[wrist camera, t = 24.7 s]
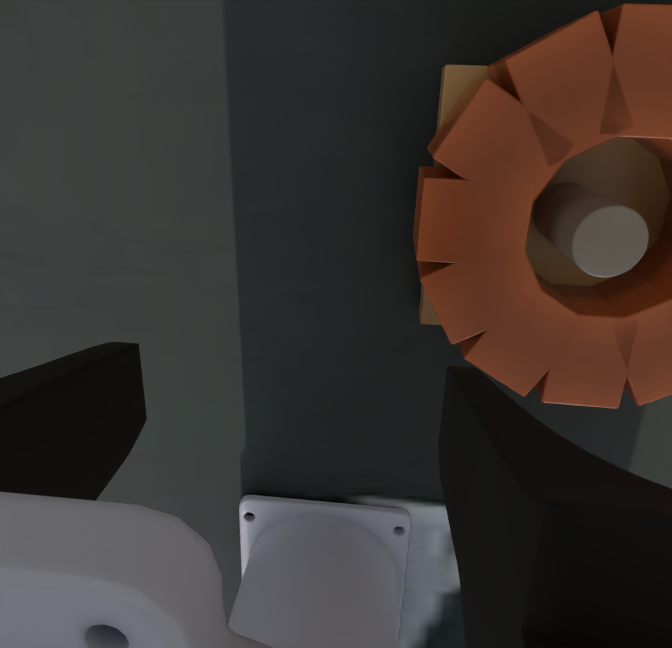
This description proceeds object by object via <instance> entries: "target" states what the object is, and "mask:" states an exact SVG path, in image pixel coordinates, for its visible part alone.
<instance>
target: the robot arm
mask: <svg viewBox="0 0 672 648" xmlns="http://www.w3.org/2000/svg"><path fill="white" fill-rule="evenodd" d="M146 420H147V417H146V408H145V398H144V389H143V380H142V370H141V361H140V352H139V344H137V343H123V342H110V343H105V344H101V345H97V346H94V347H91V348H88V349H85V350H82V351H79V352H76V353H73V354H70V355H67V356H64V357H62V358H59V359H56V360H53V361H50V362H47V363H45V364H42V365H39V366H36V367H33V368H30V369H27V370H24V371H21V372H18V373H15V374H12V375H9V376H5V377H2V378H0V648H398V638H399V629H400V619H401V610H402V600H403V591H404V581H405V572H406V563H407V553H408V544H409V534H410V525H411V518H410V514H409V513H408V511H406V510H404V509H400V508H390V507H379V506H368V505H357V504H346V503H335V502H324V501H313V500H302V499H291V498H281V497H270V496H259V495H246V496H244V497H243V498H242V499H241V501H240V505H239V518H240V544H241V570H242V581H241V584H240V588H239V591H238V594H237V597H236V600H235V603H234V607H233V610H232V613H231V616H230V619H229V622H228V625H227V622H226V618H225V613H224V609H223V591H222V575H221V573H220V570H219V568H218V565H217V562H216V560H215V557H214V555H213V552H212V550H211V547H210V544H209V543H208V542H207V541H205V540H204V539H203V538H202V537H201V536H200V535H198V534H197V533H196V532H195V531H194V530H192V529H191V528H190V527H189V526H188V525H187V524H185V523H184V522H183V521H182V520H181V519H180V518H178V517H176V516H173V515H169V514H166V513H163V512H160V511H157V510H153V509H150V508H147V507H144V506H140V505H134V504H124V503H113V502H103V501H96V499H97V498H98V496H99V495H100V494H101V492H102V491H103V490H104V488H105V487H106V485H107V484H108V483H109V481H110V480H111V479H112V477H113V476H114V474H115V473H116V472H117V470H118V469H119V467H120V466H121V465H122V463H123V462H124V460H125V459H126V457H127V456H128V455H129V453H130V451H131V449H132V448H133V446H134V444H135V442H136V440H137V438H138V436H139V434H140V432H141V430H142V428H143V426H144V424H145V422H146ZM438 444H439V463H440V478H441V484H442V490H443V495H444V500H445V505H446V510H447V515H448V520H449V525H450V530H451V535H452V540H453V545H454V549H455V554H456V559H457V565H458V571H459V578H460V585H461V597H462V608H463V619H464V631H465V643H466V648H672V489H671V488H668V487H665V486H663V485H660V484H657V483H655V482H652V481H649V480H647V479H644V478H642V477H640V476H637V475H635V474H633V473H630V472H628V471H626V470H623V469H621V468H619V467H617V466H615V465H613V464H611V463H609V462H607V461H605V460H603V459H601V458H598V457H597V456H595V455H593V454H591V453H589V452H587V451H585V450H583V449H582V448H580V447H578V446H577V445H575V444H573V443H572V442H570V441H568V440H567V439H565V438H563V437H562V436H560V435H559V434H557V433H556V432H554V431H552V430H551V429H550V428H548V427H547V426H545V425H544V424H543V423H541V422H540V421H539V420H537V419H536V418H534V417H533V416H532V415H530V414H529V413H528V412H527V411H525V410H524V409H523V408H522V407H520V406H519V405H518V404H517V403H515V402H514V401H513V400H512V399H511V398H510V397H508V396H507V395H506V394H505V393H504V392H503V391H502V390H500V389H499V388H498V387H497V386H496V385H495V384H494V383H493V382H492V381H490V380H489V379H488V378H487V377H486V376H485V375H484V374H483V373H481V372H480V371H479V370H478V369H476V368H470V367H457V366H448V369H447V377H446V385H445V393H444V402H443V410H442V418H441V427H440V435H439V443H438ZM248 512H250V513H253V514H254V515H253V516H251V515H249V514H247V513H248ZM399 526H400V527H402V529H399V530H398V529H395V527H399Z"/></svg>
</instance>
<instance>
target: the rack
mask: <svg viewBox="0 0 672 648" xmlns="http://www.w3.org/2000/svg"><path fill="white" fill-rule="evenodd" d="M487 67H488V66H480V65H445V66H444V67H443V68H442V76H441V87H440V97H439V108H438V118H437V129H436V133H437V131H438V130H439V128H440V127H441V125H442V124H443V122H444V121H445V119H446V118H447V116H448V115H449V113H450V112H451V110H452V109H453V108H454V106H455V105H456V103H457V102H458V100H459V99H460V97H461V96H462V94H463V93H464V91H465V90H466V88H467V87H468V85H469V84H470V83H471V82H473V81H477V80H481V79H484V78H489V79H490V80H492V79H491V77H490V74H489V72H488V69H487ZM433 167H445V166H444V165H442V164H441V163H439V162H438V161H436V160H435V159H434V160H433ZM670 198H671V194H670V191H669V188H668V185H667V182H666V178H665V175H664V172H663V169H662V166H661V163H660V160H659V158H658V157H657V156H656V155H654V154H653V153H651V152H650V151H649V150H647V149H646V148H645V147H643V146H642V145H641V144H639V143H638V142H636V141H635V140H634V139H632V138H629V137H615V138H612V139H610V140H608V141H606V142H604V143H602V144H600V145H598V146H596V147H594V148H592V149H590V150H587V151H585V152H583V153H581V154H579V155H577V156H575V157H573V158H571V159H569V160H567V161H565V162H564V163H563V165H562V166H561V167H560V169H559V170H558V171H557V172H556V174H555V175H554V176H553V178H552V179H551V180H550V181H549V183H548V184H547V185H546V186H545V188H544V189H543V190H542V192H541V193H540V194H539V195H538V197H537V198H536V199H535V201H534V202H533V207H532V213H531V219H530V224H529V230H528V236H527V242H526V248H525V251H526V253H527V256H528V258H529V260H530V263H531V265H532V268H533V270H534V272H535V273H536V274H538V275H539V276H541V277H542V278H544V279H545V280H547V281H548V282H550V283H551V284H558V285H573V286H588V287H592V286H594V285H596V284H599V283H601V282H604V281H606V280H608V279H611V278H613V277H616V276H618V275H620V274H623V273H625V272H628V271H630V270H631V269H632V268H633V267H634V266H635V265H636V264H637V263H638V262H639V261H640V260H641V258H642V257H643V256H644V255H645V254H646V253H647V252H648V251H649V250H650V248H651V247H652V246H653V245H654V244H655V243H656V242H657V241H658V240H659V238H660V236H661V232H662V228H663V224H664V221H665V217H666V213H667V209H668V205H669V202H670ZM419 317H420V323H421V324H430V325H441V323H440V321H439V319H438V317H437V315H436V313H435V310H434V308H433V306H432V304H431V302H430V300H429V298H428V296H427V294H426V292H425V290H424V288H423V286H421V296H420V307H419Z"/></svg>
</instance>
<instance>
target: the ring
mask: <svg viewBox="0 0 672 648" xmlns="http://www.w3.org/2000/svg"><path fill="white" fill-rule="evenodd" d="M487 69H488V72H489V74H490V77H491V79H492V80H490V79H489V78H484V79H481V80H477V81H473V82H471V83H470V84H469V85H468V87H467V88H466V90H465V91H464V93H463V94H462V96H461V97H460V99H459V100H458V102H457V103H456V105H455V106H454V108H453V109H452V110H451V112H450V113H449V115H448V116H447V118H446V119H445V121H444V122H443V124H442V125H441V127H440V128H439V130H438V131H437V133H436V134H435V136H434V137H433V139H432V140H431V142H430V143H429V145H428V146H427V150H428V151H429V153H430V154H431V155H432V157H433V158H434V159H435V160H436V161H438V162H439V163H441V164H442V165H444V166H445V167H430V166H420V167H419V176H418V186H417V197H416V208H415V218H414V229H413V241H414V248H415V255H416V260H417V263H418V270H419V277H420V282H421V284H422V286H423V288H424V290H425V292H426V294H427V296H428V298H429V300H430V302H431V304H432V306H433V308H434V310H435V313H436V315H437V317H438V319H439V321H440V323H441V325H442V327H443V329H444V331H445V333H446V335H447V337H448V339H449V341H450V343H451V344H456V343H458V342H459V343H460V347H461V350H462V354H463V358H464V359H465V360H467V361H468V362H470V363H471V364H473V365H474V366H476V367H478V368H479V369H481V370H482V371H484V372H485V373H487V374H489V375H490V376H492V377H493V378H495V379H496V380H498V381H499V382H501V383H503V384H504V385H506V386H507V387H509V388H510V389H512V390H514V391H515V392H517V393H518V394H520V395H521V396H523V397H525V396H526V395H527V394H528V393H529V392H530V390H531V389H532V388H533V387H535V389H536V391H537V393H538V395H539V397H540V399H541V401H542V402H544V403H554V404H566V405H578V406H590V407H602V408H614V409H617V408H618V407H619V404H620V401H621V397H622V393H623V389H625V390H626V392H627V393H628V394H629V395H630V397H631V398H632V399H633V400H634V402H635V403H636V404H637V405H638V406H641V405H643V404H646V403H649V402H652V401H655V400H658V399H660V398H663V397H666V396H669V395H672V5H665V4H632V3H624V4H622V5H620V6H617V7H615V8H613V9H610V10H608V11H606V12H603V13H601V14H599V12H598V11H594V12H591V13H589V14H587V15H585V16H583V17H580V18H578V19H576V20H574V21H572V22H569V23H567V24H565V25H563V26H561V27H559V28H557V29H555V30H553V31H551V32H550V33H548V34H546V35H544V36H542V37H540V38H539V39H537V40H535V41H533V42H531V43H529V44H528V45H526V46H524V47H522V48H520V49H518V50H516V51H515V52H513V53H511V54H509V55H507V56H505V57H504V58H502V59H500V60H498V61H496V62H494V63H492V64H491V65H489V66H488V67H487ZM615 137H629V138H632V139H634V140H635V141H636V142H638V143H639V144H641V145H642V146H643V147H645V148H646V149H647V150H649V151H650V152H651V153H653V154H654V155H656V156H657V157H658V158H659V160H660V163H661V166H662V169H663V172H664V175H665V178H666V182H667V185H668V188H669V191H670V194H671V198H670V202H669V205H668V209H667V213H666V217H665V221H664V224H663V228H662V232H661V236H660V238H659V240H658V241H657V242H656V243H655V244H654V245H653V246H652V247H651V248H650V250H649V251H648V252H647V253H646V254H645V255H644V256H643V257H642V258H641V260H640V261H639V262H638V263H637V264H636V265H635V266H634V267H633V268H632V269H631V270H630V271H628V272H625V273H623V274H620V275H618V276H616V277H613V278H611V279H608V280H606V281H604V282H601V283H599V284H596V285H594V286H592V287H588V286H573V285H558V284H551V283H550V282H548V281H547V280H545V279H544V278H542V277H541V276H539V275H538V274H536V273H535V272H534V270H533V268H532V265H531V263H530V260H529V258H528V256H527V253H526V251H525V248H526V242H527V236H528V230H529V224H530V219H531V213H532V207H533V202H534V201H535V199H536V198H537V197H538V195H539V194H540V193H541V192H542V190H543V189H544V188H545V186H546V185H547V184H548V183H549V181H550V180H551V179H552V178H553V176H554V175H555V174H556V172H557V171H558V170H559V169H560V167H561V166H562V165H563V163H564V162H565V161H567V160H569V159H571V158H573V157H575V156H577V155H579V154H581V153H583V152H585V151H587V150H590V149H592V148H594V147H596V146H598V145H600V144H602V143H604V142H606V141H608V140H610V139H612V138H615Z"/></svg>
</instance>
